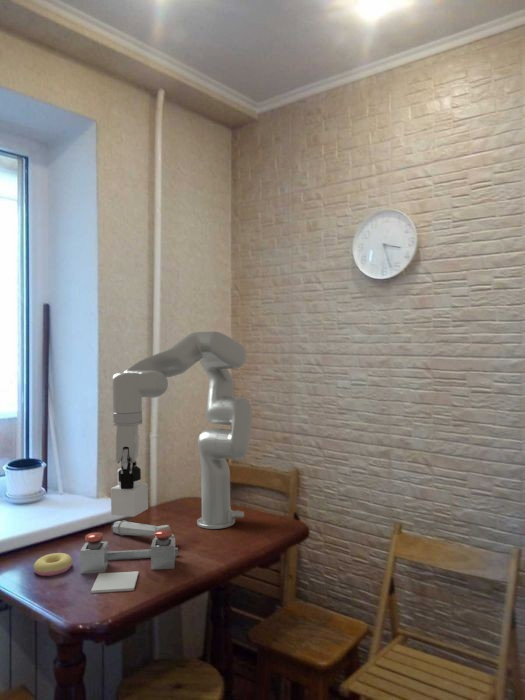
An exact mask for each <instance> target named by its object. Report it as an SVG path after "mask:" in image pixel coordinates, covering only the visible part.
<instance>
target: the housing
mask: <svg viewBox="0 0 525 700" xmlns="http://www.w3.org/2000/svg"><path fill="white" fill-rule="evenodd" d="M178 551H179V548H178V547H176V538H169V545H157V539H154V538H153V539H152V541H151V545H150V548H149V549H148V548H147V549H145V548H144V549H129V550H109V541H108V540H107V541H101V548H96V549H88V542H87V541H86V542H85V543H84V544H83V545H82V547H81V549H80V551H79V552H80V554H79V555H80V561H79V562H80V563H79V564H80V575H82V574H83V575H84V574H85V575H86V574H99V573H106V570H107V568H108V565H109V561H117V560H118V561H119V560H120V561H121V560H136V559H138V560H140V559H150V570H152V571H153V570H154V571H155V570H169V569H175V565H176V557H178V555H179V554H178V553H179V552H178Z"/></svg>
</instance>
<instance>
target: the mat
mask: <svg viewBox="0 0 525 700" xmlns="http://www.w3.org/2000/svg"><path fill="white" fill-rule="evenodd" d="M97 574H98V575H97V576H96V579H95V581H94V583H93V585H92V588H91V590H90V594H100V593H114V592H131V591H132V592H133V591H134V590H135V587H136V585H137V580H138V577H139V571H135V570H134V571H120V572H119V571H117V572H104V573H97Z"/></svg>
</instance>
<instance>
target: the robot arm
mask: <svg viewBox="0 0 525 700" xmlns="http://www.w3.org/2000/svg"><path fill="white" fill-rule="evenodd" d="M246 360H247V353H246V349H245V348H244V346H243V345H242V344H241V343H240V342H238V341H236V340H235V339H233V338H231V336H228V335H226V334H224V333H222V332H220V331H195V332H194V331H193V332H190V333H189V334H187V335H186V336H185V337H184V338H182V339H180V340H179V341H178V342H176V343H175V344H174V345H171V347H169V348H168V349H166V350H163V351H160V352H158V353H156V354H153V355H151V356H147V357H146V358H144V359H141V360H139V361H137V362H136V363H134V364H132V365H131V366H129V367H128V368H127V369H126V370H124V371H123V372H117V373H115V374H114V375H113V376H112V412H113V413H112V414H113V415H112V416H113V417H112V419H113V422H112V423H113V426H114V427H115V426H116V433H115V462H116V464H120V463H121V464H120V468H121V489H132V488H133V487H134V479H133V473H132V466H136V467H138V465H137V459H138V457H139V448H140V447H139V440H140V439H139V425H142V424H143V398H150V399H151V398H153V399H154V398H158V397H161V396H162V395H164V394H165V392H166V391H167V389H168V387H169V382H168V379H167V378H171V377H175V376H179V375H182V374H185V373H186V372H187V371H188V370H189V369H191V368H192V367H193V366H194V365H195V364H196V363H198V362H199V364H200V365H201V367H202V368H203V369H204V371H205V373H206V376H207V379H208V390H207V391H208V392H207V399H206V409H205V410H206V411H205V417H206V420H207V421H208V422H209V423H210V424H213V425H222V426H231V429H229V428H228V429H227V428H217V427H212V428H211V427H210V428H206V429H204V430H202V431H201V432H200V434H199V435H198V438H197V449H198V453H199V458H200V459H199V460H200V473H201V475H200V476H201V477H200V480H201V482H200V487H201V488H200V489H201V492H200V493H201V497H200V498H201V516H200V517H199V518H198V519H197V520H196V524H197V526H198V527H200V528H203V529H208V530H209V529H210V530H218V529H226V528H230V527H231V526H233V525H234V524H235V523H236V518H241V519H242V518H245V511H241V510H233V509H232V507H231V483H230V482H231V471H230V467H229V464H228V462H227V460H228V459H229V460H242V459H243V458H245V457H246V456H247V453H248V451H249V448H250V440H251V431H252V420H253V409H252V405H251V403H250V401H249V400H248V399H247V398H246V397H242V396H234V385H235V382H234V378H233V376H232V374H231V373H230V371H229V369H230V370H235V369H240V368H242V367H243V366H244V365H245V362H247V361H246Z"/></svg>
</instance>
